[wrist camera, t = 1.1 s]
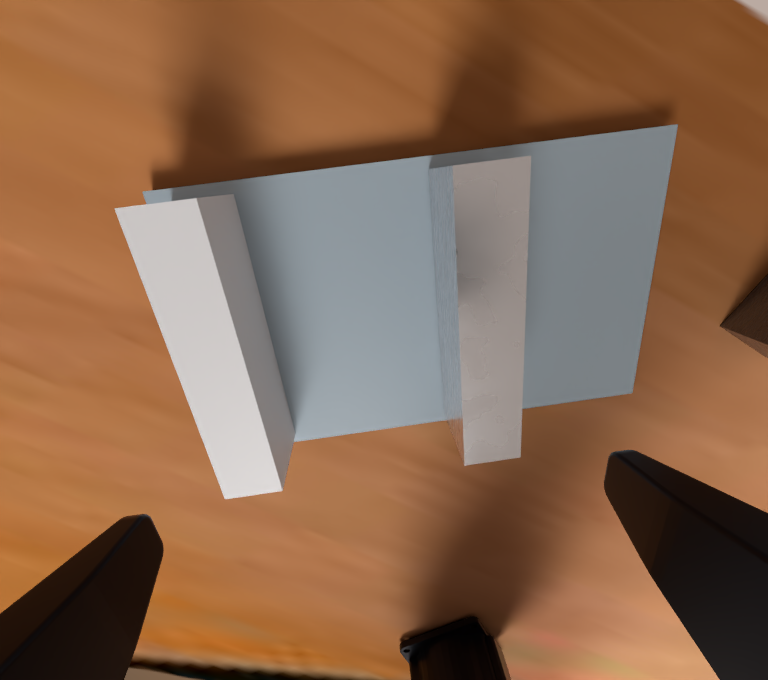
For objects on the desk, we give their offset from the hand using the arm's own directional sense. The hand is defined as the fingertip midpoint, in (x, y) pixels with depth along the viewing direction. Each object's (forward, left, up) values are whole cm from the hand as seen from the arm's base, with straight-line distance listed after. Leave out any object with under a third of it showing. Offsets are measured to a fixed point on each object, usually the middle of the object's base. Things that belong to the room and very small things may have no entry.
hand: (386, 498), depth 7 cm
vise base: (+3, -1, -12) cm, 12 cm away
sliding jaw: (+4, -2, -11) cm, 12 cm away
